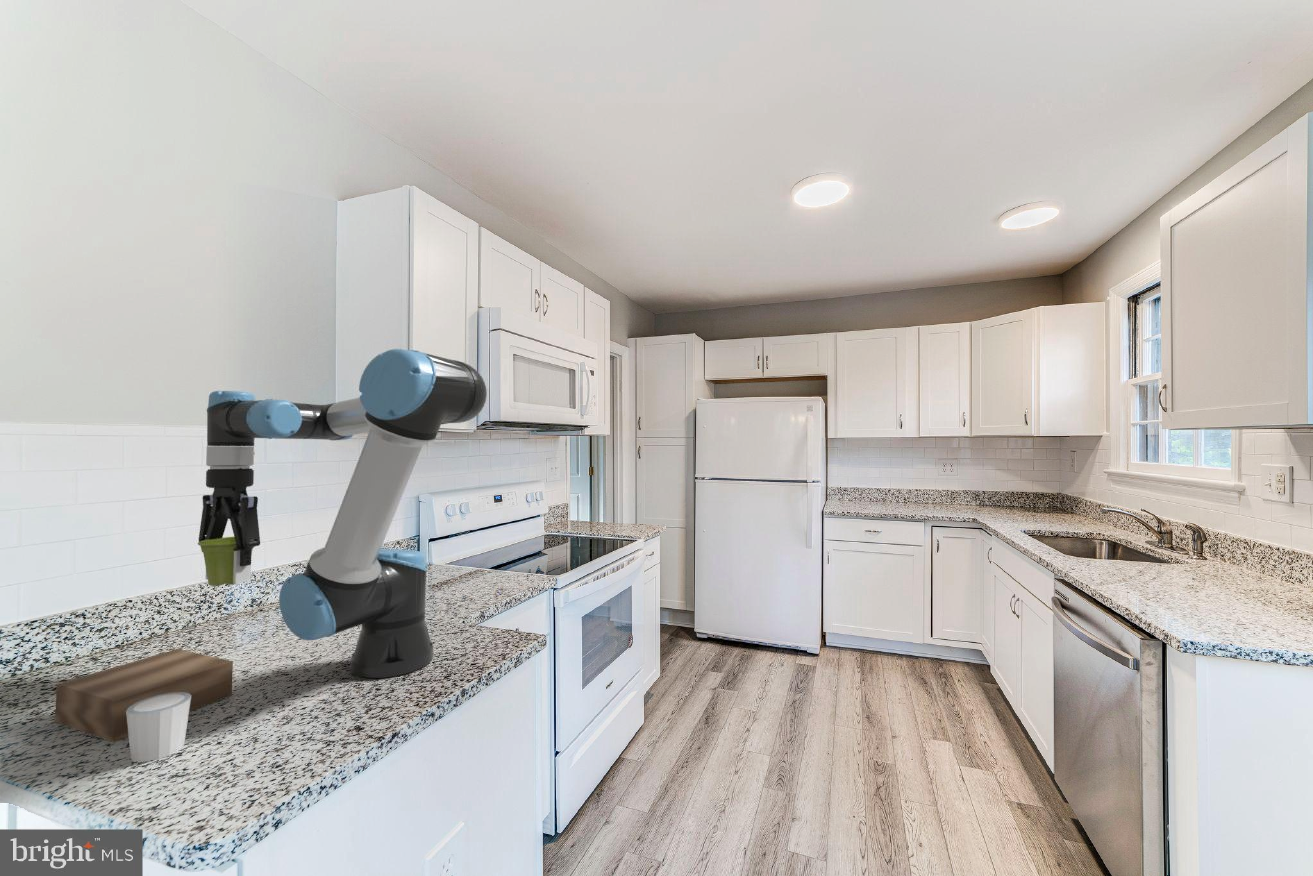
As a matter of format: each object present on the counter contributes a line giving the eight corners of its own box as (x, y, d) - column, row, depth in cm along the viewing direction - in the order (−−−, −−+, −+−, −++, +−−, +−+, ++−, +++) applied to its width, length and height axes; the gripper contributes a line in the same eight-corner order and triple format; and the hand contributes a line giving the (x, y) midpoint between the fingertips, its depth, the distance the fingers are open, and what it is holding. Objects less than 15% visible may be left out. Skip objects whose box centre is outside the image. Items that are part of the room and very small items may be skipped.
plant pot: (222, 590, 101) (223, 544, 101) (184, 587, 103) (185, 542, 103) (268, 578, 110) (269, 536, 110) (232, 576, 112) (233, 535, 112)
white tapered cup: (125, 750, 76) (126, 701, 76) (188, 733, 81) (189, 687, 81) (124, 771, 71) (125, 719, 71) (191, 751, 76) (192, 702, 76)
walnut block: (231, 695, 93) (232, 661, 93) (113, 742, 78) (114, 701, 78) (176, 681, 99) (176, 648, 99) (55, 722, 84) (56, 684, 84)
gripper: (284, 467, 106) (281, 580, 106) (219, 466, 114) (217, 571, 113) (243, 469, 99) (240, 589, 99) (177, 467, 107) (174, 579, 107)
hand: (227, 580), depth 106 cm, fingers closed on plant pot, 8 cm apart
